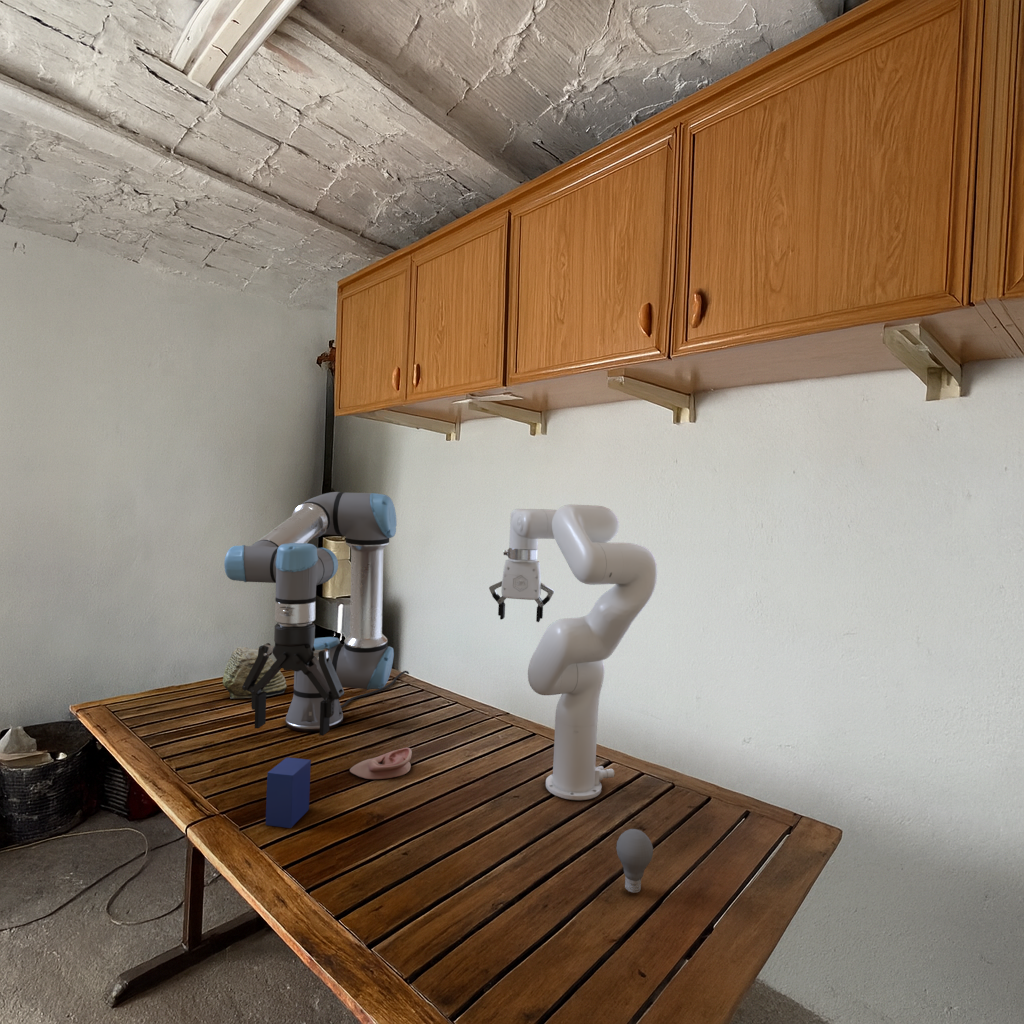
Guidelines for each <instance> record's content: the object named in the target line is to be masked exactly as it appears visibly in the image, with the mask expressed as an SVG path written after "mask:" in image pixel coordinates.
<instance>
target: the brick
mask: <svg viewBox="0 0 1024 1024" xmlns="http://www.w3.org/2000/svg"><path fill="white" fill-rule="evenodd" d="M311 763H312V760H311V759H306V758H297V757H289V756H288V757H285V758H284V759H283V760H281V761H280V762H279V763H277V765H275V766H274V767H273V768H271V769H270V770H269V771H267V774H266V776H267V777H266V804H265V808H266V809H265V826H270V827H278V828H286V829H291V828H293V827H294V826H295V825H296V823H297V822H299V820H300V819H302V818H303V817H304V815H305V814H306V813H307V812H308V811H310V795H311V794H310V793H311V791H310V790H311Z"/></svg>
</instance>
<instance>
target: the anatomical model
mask: <svg viewBox="0 0 1024 1024" xmlns="http://www.w3.org/2000/svg"><path fill="white" fill-rule="evenodd" d="M412 751H413V750H412V749H411V748H410V747H403V748H402V747H401V748H398V749H396V750H395V749H394V750H391V751H389V752H386V753H383V754H381V755H379V756H375V757H371V758H368V759H364V760H362V761H360V762H358V763H356V764H354V765H353V766H352V767H351V768H350V769H349V773H351V774H353V775H354V776H357V777H359V778H362V779H366V780H382V779H383V780H384V779H392V778H396V777H400V776H404V775H405V774H408V773H409V772H410V770H411V767H412V764H411V762H410V761H411V759H412V756H413V752H412Z"/></svg>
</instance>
